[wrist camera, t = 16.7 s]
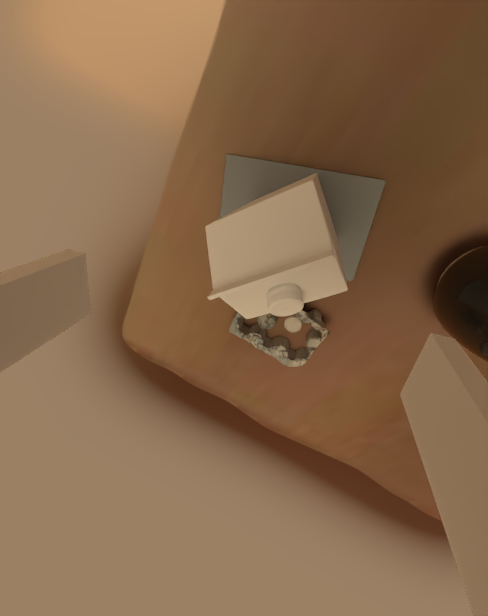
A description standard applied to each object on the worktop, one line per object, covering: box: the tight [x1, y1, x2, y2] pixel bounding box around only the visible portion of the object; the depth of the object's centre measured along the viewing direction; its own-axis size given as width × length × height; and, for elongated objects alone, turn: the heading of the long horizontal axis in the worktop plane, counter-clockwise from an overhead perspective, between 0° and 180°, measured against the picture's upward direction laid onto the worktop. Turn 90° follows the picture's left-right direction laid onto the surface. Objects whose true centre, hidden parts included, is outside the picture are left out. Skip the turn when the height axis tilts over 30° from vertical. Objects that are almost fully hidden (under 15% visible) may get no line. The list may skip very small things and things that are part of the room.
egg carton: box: [229, 309, 330, 367], centre depth 37 cm, size 11×8×4 cm
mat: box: [220, 154, 386, 281], centre depth 33 cm, size 16×10×1 cm, turn 81°
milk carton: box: [205, 173, 348, 319], centre depth 24 cm, size 7×7×19 cm
